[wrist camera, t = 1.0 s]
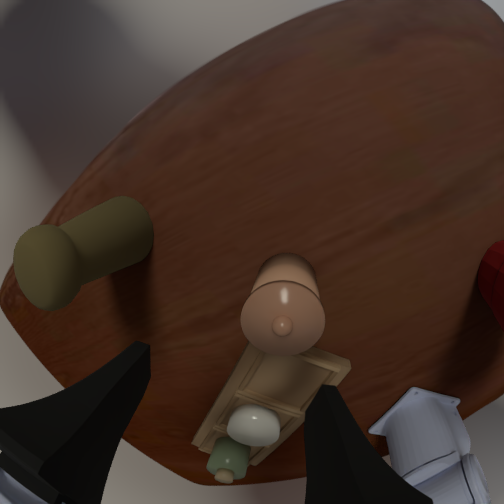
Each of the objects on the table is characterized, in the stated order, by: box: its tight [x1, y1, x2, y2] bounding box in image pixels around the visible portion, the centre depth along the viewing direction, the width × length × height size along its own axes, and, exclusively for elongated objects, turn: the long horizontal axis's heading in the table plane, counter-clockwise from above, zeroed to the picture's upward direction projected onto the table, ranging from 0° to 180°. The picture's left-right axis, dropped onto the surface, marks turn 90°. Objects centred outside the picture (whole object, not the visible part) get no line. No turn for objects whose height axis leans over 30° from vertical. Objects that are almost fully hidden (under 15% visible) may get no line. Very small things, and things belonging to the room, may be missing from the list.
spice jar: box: [241, 253, 325, 356], centre depth 18 cm, size 5×5×7 cm
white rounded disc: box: [227, 404, 281, 446], centre depth 24 cm, size 5×5×2 cm
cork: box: [13, 196, 154, 311], centre depth 17 cm, size 6×6×11 cm
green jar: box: [207, 437, 251, 483], centre depth 25 cm, size 4×4×5 cm
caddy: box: [191, 341, 351, 466], centre depth 25 cm, size 9×21×2 cm, turn 157°
